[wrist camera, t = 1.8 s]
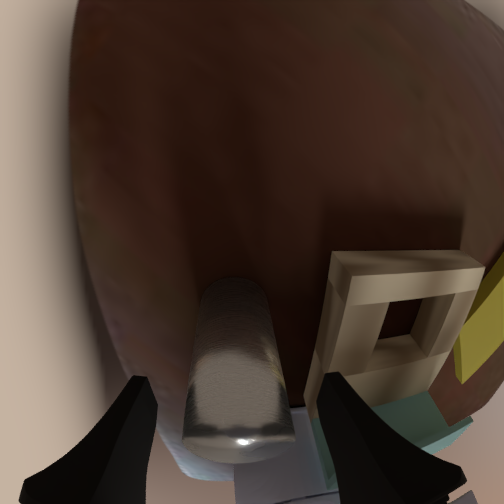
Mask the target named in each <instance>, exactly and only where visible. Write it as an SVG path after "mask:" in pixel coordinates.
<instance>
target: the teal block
mask: <svg viewBox="0 0 504 504" xmlns="http://www.w3.org/2000/svg"><path fill="white" fill-rule="evenodd" d="M371 409H372V410H373V411H374V412H375V413H376V414H377V415H378V416H379V417H380V418H381V419H382V420H383V421H384V422H386V423H387V424H388V425H389V426H390V427H391V428H392V429H394V430H395V431H396V432H397V433H399V434H400V435H401V436H402V437H404V438H405V439H407V440H408V441H410V442H411V443H412V444H414V445H416V446H417V447H419V448H421V449H422V450H424V451H426V452H428V453H429V454H431V455H432V454H434V453H436V452H438V451H440V450H442V449H443V448H446V447H447V446H449V445H451V444H452V443H453V442H454V441H455V440H456V439H457V438H458V437H459V436H460V435H461V434H462V433H463V432H464V431H465V430H466V429H467V428H468V427H469V426H470V424H471V423H472V422H473V419H472V418H471V416H469V417H467V418H466V419H464V420H462V421H460V422H458V423H456V424H455V425H453V426H451V427H448V425H447V423H446V422H445V420H444V418H443V416H442V415H441V413H440V411H439V410H438V408H437V406H436V405H435V403H434V401H433V400H432V398H431V396H430V395H429V393H428V391H425V392H422V393H419V394H416V395H413V396H410V397H407V398H404V399H400V400H397V401H393V402H390V403H386V404H383V405H379V406H375V407H371ZM311 427H312V431H313V435H314V439H315V443H316V447H317V451H318V455H319V459H320V463H321V467H322V471H323V475H324V479H325V484H326V488H327V490H332V489H336V488H338V484H337V478H336V473H335V468H334V464H333V461H332V458H331V455H330V452H329V448H328V445H327V442H326V439H325V436H324V433H323V430H322V427H321V424H320V420H319V418H315V419H312V422H311Z"/></svg>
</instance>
